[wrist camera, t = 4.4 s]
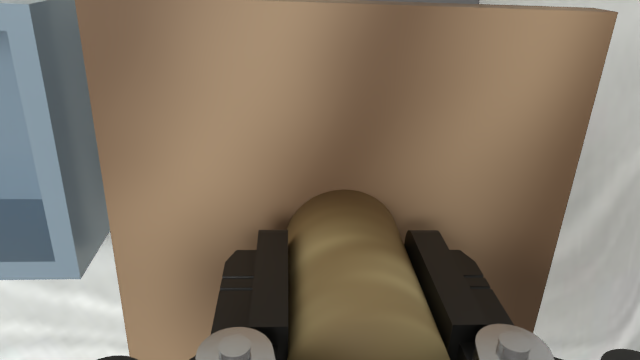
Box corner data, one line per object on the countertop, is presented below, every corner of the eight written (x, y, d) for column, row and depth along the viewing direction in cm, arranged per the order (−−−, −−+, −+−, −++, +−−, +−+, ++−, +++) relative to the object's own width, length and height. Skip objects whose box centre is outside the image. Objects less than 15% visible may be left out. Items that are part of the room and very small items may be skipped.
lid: (593, 8, 12) (837, 50, 7) (503, 376, 17) (603, 572, 12) (90, -10, 11) (-90, 23, 6) (146, 382, 16) (75, 597, 11)
